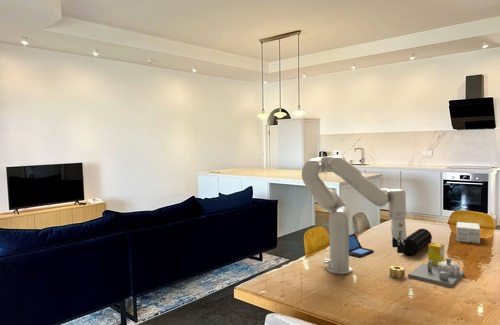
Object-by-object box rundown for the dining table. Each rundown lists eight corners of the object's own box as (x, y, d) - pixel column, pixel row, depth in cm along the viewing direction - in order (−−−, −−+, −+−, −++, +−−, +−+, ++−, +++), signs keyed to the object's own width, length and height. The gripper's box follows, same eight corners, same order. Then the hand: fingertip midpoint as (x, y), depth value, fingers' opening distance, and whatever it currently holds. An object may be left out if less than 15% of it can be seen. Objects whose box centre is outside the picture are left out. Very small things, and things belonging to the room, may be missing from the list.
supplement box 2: (456, 235, 250) (456, 221, 249) (479, 237, 243) (479, 223, 243) (456, 241, 235) (456, 226, 235) (480, 243, 229) (480, 228, 228)
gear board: (408, 277, 176) (408, 260, 175) (423, 266, 190) (423, 250, 190) (451, 287, 163) (451, 269, 162) (464, 275, 177) (464, 258, 176)
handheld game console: (360, 258, 206) (359, 242, 205) (339, 253, 216) (339, 237, 215) (374, 252, 216) (374, 236, 216) (354, 247, 226) (354, 233, 226)
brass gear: (391, 278, 175) (391, 270, 174) (388, 273, 181) (388, 265, 181) (406, 278, 174) (406, 270, 173) (402, 273, 180) (402, 265, 180)
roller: (416, 237, 240) (421, 223, 238) (431, 244, 234) (437, 230, 232) (396, 251, 211) (402, 236, 209) (413, 259, 205) (419, 243, 203)
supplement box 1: (432, 262, 196) (432, 242, 195) (444, 265, 191) (444, 244, 191) (427, 265, 191) (428, 244, 191) (440, 268, 187) (440, 247, 186)
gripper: (410, 218, 167) (411, 255, 167) (401, 211, 184) (401, 245, 185) (393, 218, 168) (394, 255, 169) (385, 211, 185) (386, 245, 186)
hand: (398, 250), depth 177 cm, fingers open, 9 cm apart
